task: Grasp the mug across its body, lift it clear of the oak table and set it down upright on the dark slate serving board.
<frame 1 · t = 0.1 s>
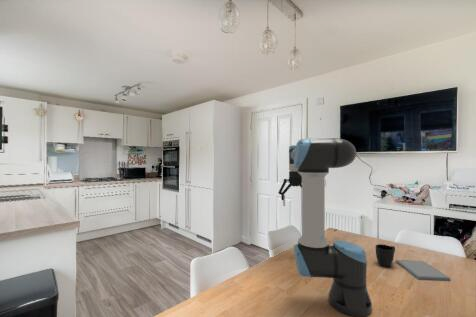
hand: (295, 205, 140), 28 cm above the table, fingers open, 13 cm apart
mug: (387, 264, 124), on the table
slate board: (420, 270, 117), on the table
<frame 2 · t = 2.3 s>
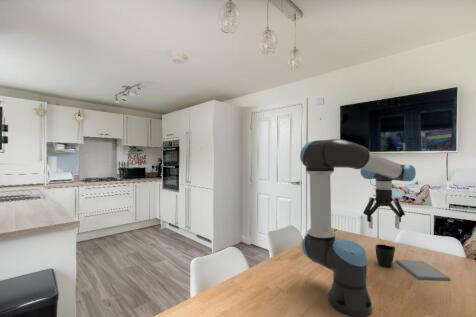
hand: (383, 228, 125), 19 cm above the table, fingers open, 13 cm apart
nothing on the table moved.
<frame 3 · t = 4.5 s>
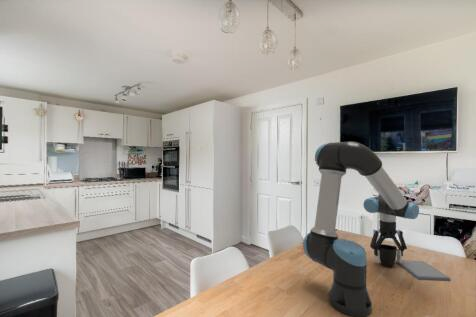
hand: (388, 261, 124), 1 cm above the table, fingers closed on mug, 10 cm apart
mug: (389, 264, 124), on the table, touching gripper
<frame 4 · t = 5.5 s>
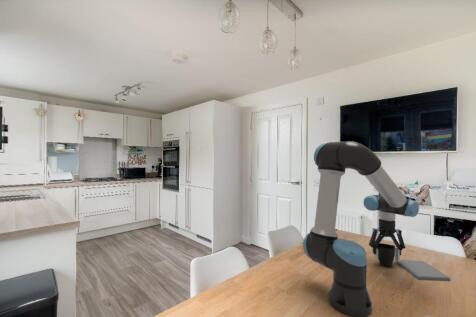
hand: (386, 260, 124), 2 cm above the table, fingers closed on mug, 10 cm apart
mug: (387, 263, 124), on the table, touching gripper
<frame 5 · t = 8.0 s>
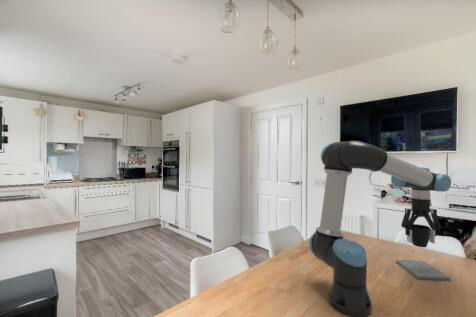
hand: (420, 242, 117), 14 cm above the table, fingers closed on mug, 10 cm apart
mug: (421, 245, 117), point 13 cm above the table, touching gripper
when the fingers open (3 cm above the table, at t = 10.9 s): mug stays where it is, resting on slate board.
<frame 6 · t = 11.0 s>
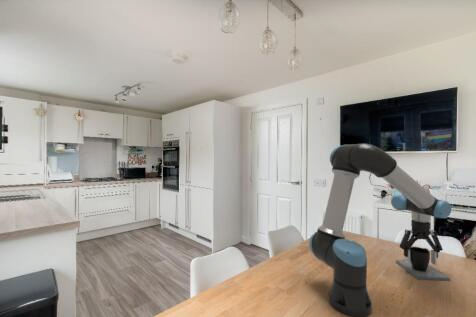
hand: (420, 263, 117), 4 cm above the table, fingers open, 12 cm apart
mug: (421, 268, 117), point 1 cm above the table, touching slate board
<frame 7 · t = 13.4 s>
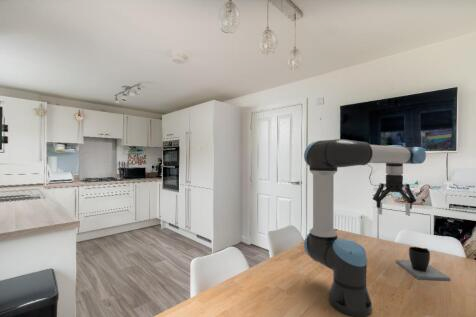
hand: (393, 214, 122), 27 cm above the table, fingers open, 13 cm apart
nothing on the table moved.
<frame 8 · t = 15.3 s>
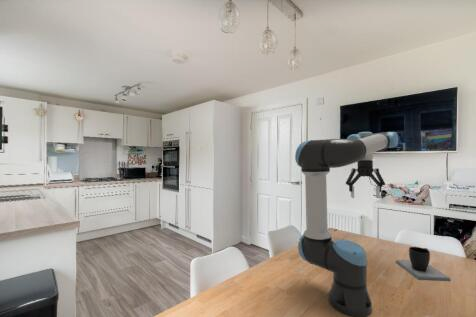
hand: (365, 197, 130), 35 cm above the table, fingers open, 13 cm apart
nothing on the table moved.
at the end: mug 0.6 cm from the slate board (horizontally); mug tilted 0°; mug touching slate board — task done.
